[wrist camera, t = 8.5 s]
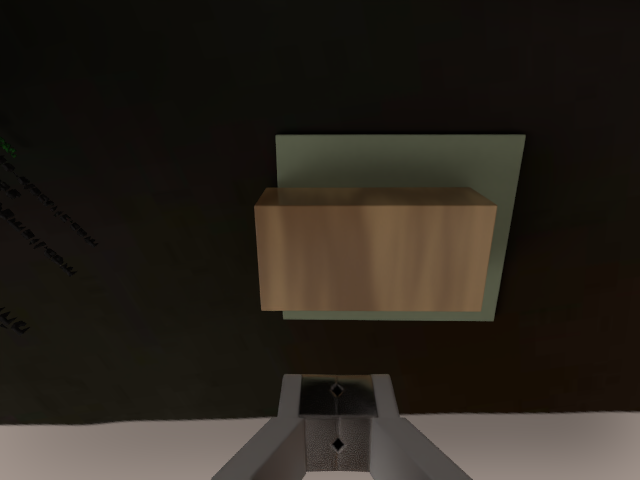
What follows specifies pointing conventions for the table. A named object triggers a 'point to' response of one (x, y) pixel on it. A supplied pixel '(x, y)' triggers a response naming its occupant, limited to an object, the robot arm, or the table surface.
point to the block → (373, 248)
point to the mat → (410, 171)
